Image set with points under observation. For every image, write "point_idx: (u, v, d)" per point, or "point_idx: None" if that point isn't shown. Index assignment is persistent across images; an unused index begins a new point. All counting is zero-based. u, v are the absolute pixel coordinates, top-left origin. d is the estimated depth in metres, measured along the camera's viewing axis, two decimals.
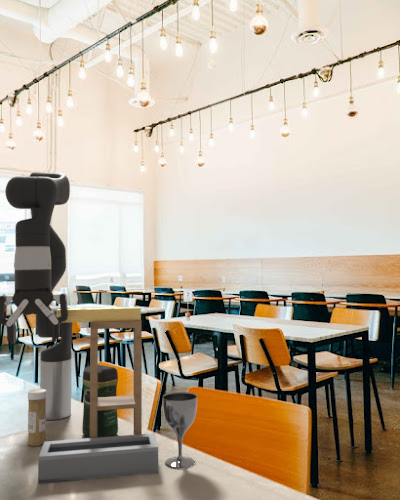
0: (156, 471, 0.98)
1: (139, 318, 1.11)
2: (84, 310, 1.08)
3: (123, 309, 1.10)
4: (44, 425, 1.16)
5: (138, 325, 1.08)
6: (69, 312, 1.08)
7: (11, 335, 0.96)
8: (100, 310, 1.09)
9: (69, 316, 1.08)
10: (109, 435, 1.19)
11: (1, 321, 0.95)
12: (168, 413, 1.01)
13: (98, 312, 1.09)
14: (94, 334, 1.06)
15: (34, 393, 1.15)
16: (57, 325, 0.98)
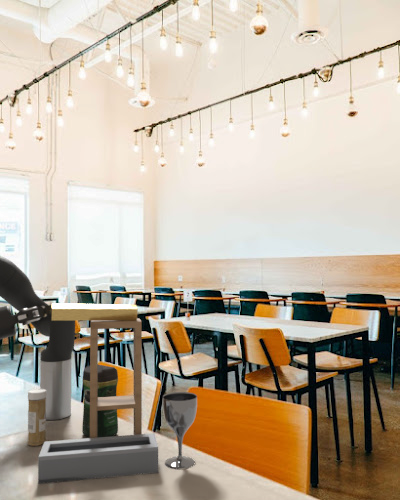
0: (156, 471, 0.98)
1: (135, 318, 1.11)
2: (80, 309, 1.06)
3: (120, 309, 1.09)
4: (44, 425, 1.16)
5: (138, 325, 1.08)
6: (65, 311, 1.05)
7: None
8: (97, 310, 1.07)
9: (65, 314, 1.05)
10: (109, 435, 1.19)
11: None
12: (168, 413, 1.01)
13: (94, 311, 1.07)
14: (94, 334, 1.06)
15: (34, 393, 1.15)
16: (48, 313, 1.09)
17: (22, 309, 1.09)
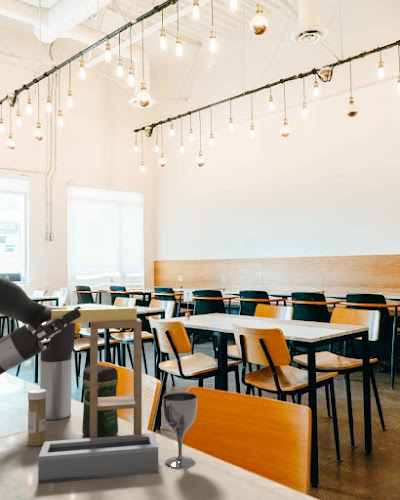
0: (156, 471, 0.98)
1: (135, 318, 1.11)
2: (80, 311, 1.07)
3: (119, 309, 1.10)
4: (44, 425, 1.16)
5: (138, 325, 1.08)
6: (64, 313, 1.06)
7: None
8: (96, 310, 1.08)
9: None
10: (109, 435, 1.19)
11: None
12: (168, 413, 1.01)
13: (93, 312, 1.08)
14: (94, 334, 1.06)
15: (34, 393, 1.15)
16: (67, 322, 1.05)
17: (41, 324, 1.06)
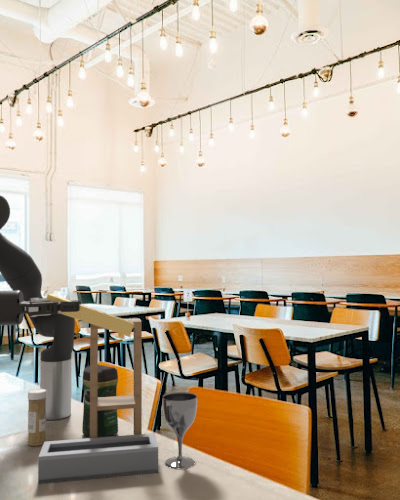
0: (156, 471, 0.98)
1: (128, 334, 1.01)
2: None
3: (116, 318, 1.01)
4: (44, 425, 1.16)
5: (138, 325, 1.08)
6: None
7: None
8: (92, 311, 1.00)
9: None
10: (109, 435, 1.19)
11: None
12: (168, 413, 1.01)
13: (89, 312, 1.00)
14: (94, 334, 1.06)
15: (34, 393, 1.15)
16: (62, 310, 0.98)
17: (34, 299, 0.97)
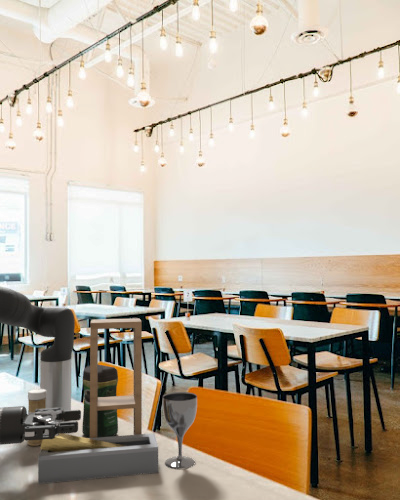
0: (156, 471, 0.98)
1: None
2: (73, 441, 0.98)
3: None
4: None
5: (138, 325, 1.08)
6: (56, 440, 0.97)
7: None
8: (90, 445, 0.99)
9: (55, 445, 0.97)
10: (109, 435, 1.19)
11: None
12: (168, 413, 1.01)
13: (87, 446, 0.98)
14: (94, 334, 1.06)
15: (34, 393, 1.15)
16: None
17: (36, 417, 0.96)
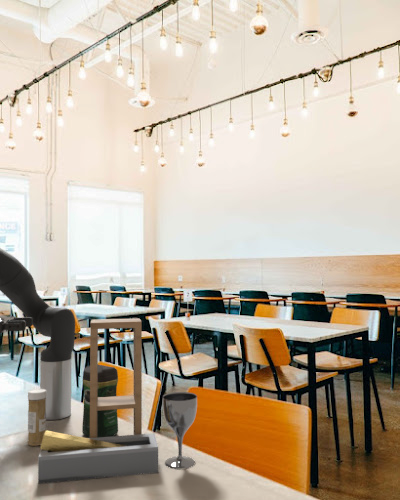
0: (156, 471, 0.98)
1: None
2: (73, 441, 0.98)
3: None
4: (44, 425, 1.16)
5: (138, 325, 1.08)
6: (56, 440, 0.97)
7: None
8: (90, 445, 0.99)
9: (55, 445, 0.97)
10: (109, 435, 1.19)
11: None
12: (168, 413, 1.01)
13: (87, 446, 0.98)
14: (94, 334, 1.06)
15: (34, 393, 1.15)
16: (8, 329, 1.00)
17: None
